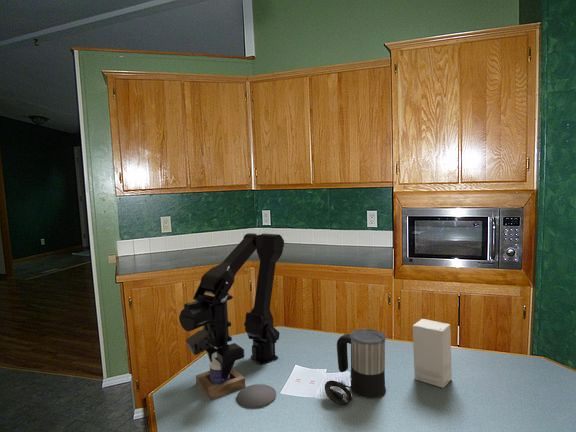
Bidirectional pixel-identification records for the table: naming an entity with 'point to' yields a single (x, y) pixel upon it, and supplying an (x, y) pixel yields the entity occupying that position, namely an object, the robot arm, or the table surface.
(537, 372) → the table surface
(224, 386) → the collar block
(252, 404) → the mat
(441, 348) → the skincare box
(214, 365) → the pill bottle
